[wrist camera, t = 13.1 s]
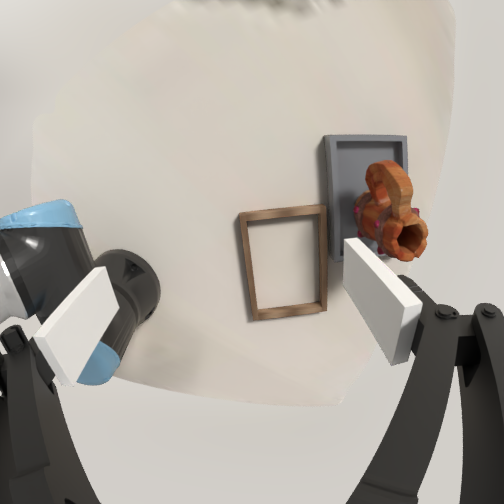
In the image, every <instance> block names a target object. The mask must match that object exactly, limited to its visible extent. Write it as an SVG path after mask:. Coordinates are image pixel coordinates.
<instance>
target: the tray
mask: <svg viewBox="0 0 504 504" xmlns="http://www.w3.org/2000/svg"><path fill="white" fill-rule="evenodd" d="M324 140H325V152H326V165H327V181H328V201H329V231H330V256H331V258H332V259H333V261H334V262H340V261H344V239H349V238H358V239H359V240H360V241H361V242H362V243H364V244H365V245H366V246H367V247H368V248H369V249H370V250H371V251H372V252H373V253H374V254H375V255H376V256H377V257H378V256H385V255H386V254H381V255H379V254H378V252H377V248H378V245H377V242H376V241H373V240H370V239H368V238H366V237H362V238H360V237H358V235H357V232H358V227H357V225H356V222H355V217H354V211H353V209H354V207H355V203H356V200H357V199H358V197H359V196H360V195H361V194H362V193H363V192H365V191H367V190H369V188H368V186H367V184H366V181H365V176H366V171H367V169H368V166H369V165H371V164H373V163H375V162H379V161H383V160H392V161H394V162H396V163H397V164H398V165H399V166H400V167H401V168H402V169H403V170H404V171H405V173H406V174H407V175H408V152H407V136H399V135H324ZM387 194H388V193H387Z"/></svg>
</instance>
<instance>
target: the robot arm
mask: <svg viewBox="0 0 504 504" xmlns="http://www.w3.org/2000/svg"><path fill="white" fill-rule="evenodd" d="M82 229H83V226H82V225H81V224H80V222H79V220H78V217H77V215H76V212H75V209H74V207H73V205H72V204H71V203H70V202H69V201H67V200H63V199H60V200H55V201H50V202H46V203H42V204H39V205H35V206H32V207H29V208H26V209H23V210H20V211H18V212H16V213H13V214H10V215H7V216H5V217H3V218H1V219H0V324H1V323H2V322H4V321H5V320H6V319H8V318H9V317H11V316H15V317H18V318H22V319H25V320H26V319H28V318H30V317H31V316H33V315H34V314H36V316H37V318H38V319H39V321H40V323H41V325H42V326H41V327H40V328H39V329H38V331H37V332H36V333H35V334H34V335H33V337H32V338H31V339H30V340H29V341H28V339H27V338H26V336H25V334H24V332H23V330H22V328H21V326H20V325H13V326H10V327H8V328H7V329H5V330H4V331H3V332H2V333H1V335H0V341H1V343H2V344H3V346H4V348H5V350H6V351H7V353H8V354H4V355H2V354H1V352H0V391H1V392H2V395H1V396H0V504H101V503H100V502H99V500H98V498H97V497H96V495H95V492H94V490H93V489H92V487H91V484H90V482H89V480H88V478H87V476H86V473H85V471H84V469H83V467H82V464H81V462H80V459H79V457H78V455H77V452H76V450H75V447H74V444H73V441H72V439H71V436H70V433H69V430H68V427H67V424H66V421H65V418H64V414H63V411H62V408H61V404H60V400H59V397H58V393H57V389H56V386H55V384H54V383H53V381H52V380H53V378H54V377H55V376H56V377H57V379H58V380H59V382H60V383H61V385H65V386H72V387H74V385H75V383H76V382H78V383H81V384H85V385H101V384H104V383H106V382H107V381H109V379H110V378H111V377H112V375H113V374H114V372H115V370H116V368H118V367H119V365H120V362H121V359H122V357H123V355H124V352H125V350H126V348H127V346H128V343H129V341H130V339H131V337H132V335H133V332H134V330H135V328H136V327H137V326H138V325H139V324H141V323H142V322H144V321H145V320H146V319H148V318H149V317H150V316H151V315H152V314H153V312H154V311H155V309H156V307H157V305H158V303H159V300H160V284H159V280H158V278H157V276H156V274H155V272H154V270H153V269H152V267H151V266H150V265H149V264H148V263H147V262H146V261H145V260H144V259H143V258H141V257H140V256H138V255H136V254H134V253H132V252H130V251H126V250H120V249H115V250H110V251H107V252H105V253H103V254H101V255H100V256H99V257H98V258H97V259H96V260H95V261H94V260H93V257H92V255H91V252H90V249H89V247H88V244H87V241H86V238H85V235H84V232H83V230H82ZM343 286H344V288H345V289H346V291H347V293H348V294H349V296H350V297H351V299H352V301H353V302H354V304H355V305H356V307H357V309H358V310H359V312H360V314H361V315H362V317H363V319H364V320H365V322H366V324H367V325H368V327H369V329H370V330H371V332H372V334H373V335H374V337H375V339H376V340H377V342H378V344H379V346H380V347H381V349H382V351H383V352H384V354H385V356H386V358H387V359H388V361H389V363H390V365H391V366H393V365H396V364H400V363H404V362H407V361H408V358H409V355H410V352H411V350H412V352H413V353H414V355H415V356H416V357H415V360H414V363H413V366H412V369H411V372H410V375H409V378H408V381H407V383H406V386H405V389H404V392H403V394H402V396H401V399H400V401H399V404H398V406H397V409H396V411H395V413H394V416H393V418H392V420H391V422H390V425H389V427H388V429H387V431H386V433H385V435H384V437H383V440H382V442H381V444H380V446H379V448H378V449H377V451H376V453H375V455H374V457H373V459H372V461H371V463H370V465H369V466H368V468H367V470H366V472H365V473H364V475H363V477H362V478H361V480H360V482H359V484H358V485H357V487H356V488H355V490H354V492H353V493H352V495H351V496H350V498H349V500H348V501H347V502H346V504H417V503H418V498H417V493H418V490H419V488H420V485H421V483H422V480H423V478H424V475H425V473H426V470H427V468H428V465H429V462H430V460H431V457H432V454H433V451H434V448H435V445H436V442H437V439H438V436H439V432H440V429H441V425H442V422H443V418H444V414H445V410H446V406H447V402H448V397H449V393H450V388H451V383H452V377H453V372H454V366H457V370H458V377H459V386H460V395H461V407H462V423H463V468H462V484H461V495H460V504H504V316H503V314H502V312H501V311H500V309H498V308H497V307H496V306H495V305H492V304H490V303H489V304H488V303H480V304H478V305H477V306H476V308H475V310H474V313H473V315H459V313H458V311H457V310H456V309H454V308H453V307H451V306H448V305H443V304H438V305H437V304H436V303H435V302H434V301H433V300H432V299H431V298H430V297H429V296H428V295H427V294H426V293H425V292H424V291H422V289H421V288H420V287H419V286H417V284H416V283H415V282H414V281H413V280H412V279H410V278H408V277H406V276H404V275H398V276H396V275H395V274H394V273H393V272H392V271H391V270H390V269H389V268H388V267H387V266H386V265H385V264H384V263H383V262H382V261H381V260H380V259H379V258H378V257H377V256H376V255H375V254H374V253H373V252H372V251H371V250H370V249H369V248H368V247H367V246H366V245H365V244H364V243H362V242H361V241H360V240H359V239H358V238H349V239H344V267H343Z"/></svg>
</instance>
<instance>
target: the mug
mask: <svg viewBox="0 0 504 504" xmlns="http://www.w3.org/2000/svg"><path fill="white" fill-rule="evenodd" d="M365 181H366V184H367V186H368V188H369V190H367V191H365V192H363V193H362V194H361V195H360V196H359V197H358V199H357V200H356V203H355V207H354V209H353V211H354V217H355V222H356V225H357V227H358V232H357V235H358V237H360V238H362V237H366V238H368V239H370V240H373V241H376V242H377V245H378V248H377V252H378V254H379V255H381V254H386V255H388V256H389V257H392V258H397V259H398V260H400V261H405V262H408V261H412V260H413V258H414V257H417V258H419V257H420V255H421V254H422V253H423V251H424V250H425V248H426V245H427V242H426V238H427V236H428V229H427V225H426V223H425V222H424V221H423V220H422V219H420V217H419V209H418V208H411V199H412V195H413V187H412V183H411V181H410V178H409V177H408V175H407V174H406V173H405V171H404V170H403V169H402V168H401V167H400V166H399V165H398V164H397V163H396V162H394V161H392V160H383V161H379V162H375V163H373V164H371V165H369V166H368V169H367V171H366V176H365ZM387 193H388V194H387Z"/></svg>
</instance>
